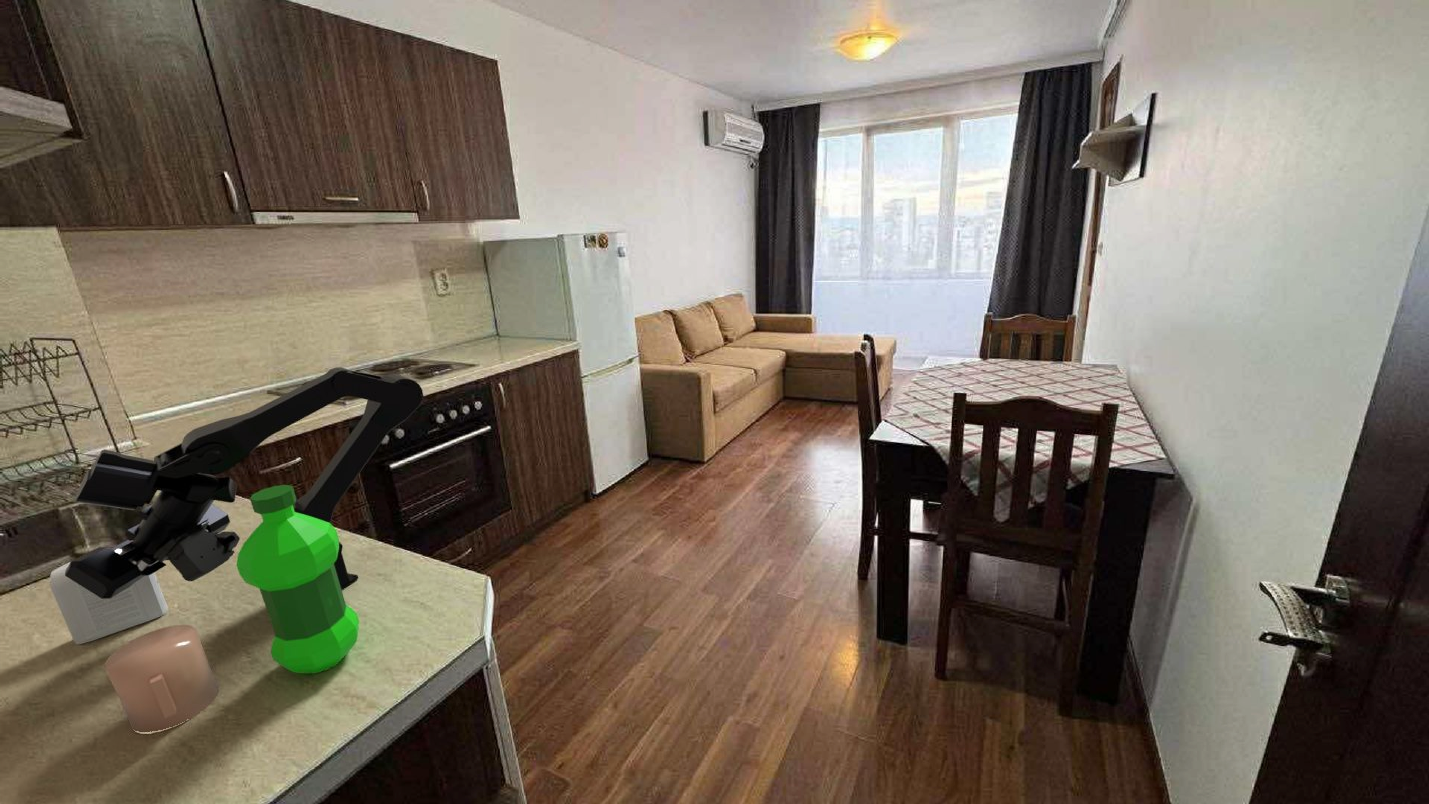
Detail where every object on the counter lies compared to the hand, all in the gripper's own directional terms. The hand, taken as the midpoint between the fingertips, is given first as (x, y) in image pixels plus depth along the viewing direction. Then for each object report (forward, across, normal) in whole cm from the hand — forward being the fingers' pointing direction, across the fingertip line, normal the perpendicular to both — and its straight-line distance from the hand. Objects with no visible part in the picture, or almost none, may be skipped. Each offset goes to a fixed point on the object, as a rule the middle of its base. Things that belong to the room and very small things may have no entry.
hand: (132, 580), depth 84 cm
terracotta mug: (-7, -15, -19) cm, 26 cm away
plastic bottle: (-17, -8, -29) cm, 34 cm away
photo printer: (+10, 0, -2) cm, 10 cm away
